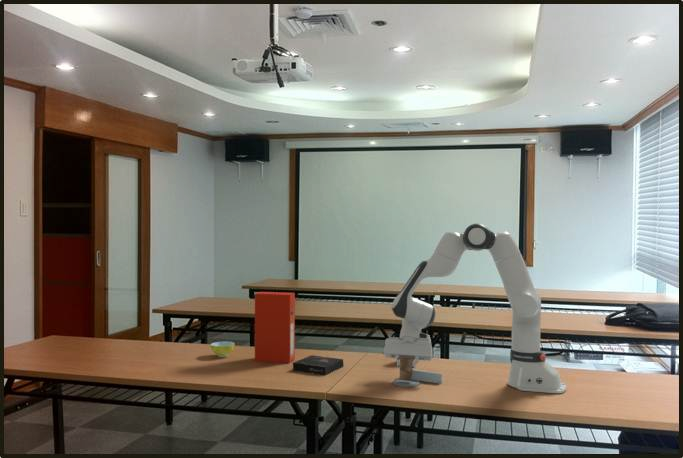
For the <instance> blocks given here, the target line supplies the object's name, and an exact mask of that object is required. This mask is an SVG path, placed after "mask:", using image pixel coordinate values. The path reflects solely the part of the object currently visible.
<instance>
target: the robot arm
mask: <svg viewBox="0 0 683 458" xmlns="http://www.w3.org/2000/svg"><path fill="white" fill-rule="evenodd" d="M483 250H487V251H488V252H489V253H490V255H491V256H492V259H493V261H494V264H495V266H496V269H497V271H498V274H499V277H500V279H501V281H502V284H503V287H504V291H505V293H506V294H505V295H506V296H507V300H508V302H509V306H510V307H511V311H512V319H511V320H512V321H511V348H510V352H509V358H510V359H509V362H510V370H509V375H508V379H507V381H506V383H507V385H508V386H510V387H513V388H514V389H517V390H518V391H524V392H535V393H536V392H537V393H545V394H546V393H548V394H562V393H565V392H566V390H567V385H566V384H565V383H564V382H561V381H562V380H561V376H560V373H559V371H558V370H557V369H556V368H554V367H553V366H552V364H550V363H548V362H547V361H546V358H547V356H546V352H543V351H542V350H541V326H542V325H541V324H542V323H541V320H542V317H541V316H542V315H541V314H542V298H541V295H540V294H539V292H538V291H537V290H536V289H535V287H534V284H533V281H532V278H531V275H530V273H529V269H528V267H527V265H526V262H525V260H524V257H523V255H522V253H521V250H520V249H519V247H518V245H517V243H516V241H515V240H514V238H513V236H512V235H511V233H509V232H507V231H499V232H494V231H492V230H491V229H489V228H488V227H487V226H485V225H484V224H483V223H472V224H470V225H468V226H467V227H466V228H465V229H464V231H463V232H462V233H461V232H460V233H459V232H457V231H453V230H452V231H451V230H450V231H447V232H445V233H444V234H443V236H442V237H441V238H440V241H439V242H438V244H437V245H436V247H435V249H434V251H433V253H432V255H431V256H430V257H429V258H428V259H427V260H422V261H421V262H420V263H419V264H418V265H417V266H416V268H415V270H414V271H413V273H412V274H411V276H410V277H409V278H408V280H407V281H406V283H405V284H404V286H403V287H402V289H401V290H400V291H399V293H398V294H397V295H396V296H395V298H394V299H393V301H392V303H391V310H392V312H393V314H394V315H395V317H397V318H400V319H402V320H401V329H400V331H399V332H400V333H399V337H394V336H393V337H392V336H389V337H387V338H386V339H385V341H384V348H383V355H384V357H385V358H389V359H390V358H391V359H395V362H396V367H397V368H400V359H399V358H413V359H414V361H413V362H412V365H411V368H412V369H416V366H417V364H418V363H419V362H420V361H429V362H431V360H432V359H433V346H432V340H431V337H430V334H427V333H424V332H422V329H426V328H428V327H430V326H432V324H433V323H434V321H435V319H436V310H435V307H434V305H432V304H430V303H428V302H426V301H422V300H421V299H418V298H415V297H414V296H412V295H413V294H414V292H415V291H416V289H417V288H418V286H419V284H420V283H421V282H422V281H423V280H424V279H426V278H446V277H448V276H451V275H452V274H453V273H454V272H455V271H456V269H457V267H458V265H459V262H460V261H461V258H462V256H463V254H464V253H465V251H475V252H479V251H483Z"/></svg>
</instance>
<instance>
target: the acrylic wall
mask: <svg viewBox="0 0 683 458" xmlns="http://www.w3.org/2000/svg"><path fill="white" fill-rule="evenodd" d="M398 379H400V376H399V377H398ZM412 380H416V381H418V382H425V383H426V382H427V383H432V384H433V383H434V384H438V385H442V383H443V373H442V372H433V371H426V370H418V369H412Z"/></svg>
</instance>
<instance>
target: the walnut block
mask: <svg viewBox="0 0 683 458" xmlns="http://www.w3.org/2000/svg"><path fill="white" fill-rule="evenodd" d="M412 360H413V358H401V359H399V361H400V367H399V377H400V379H402V380H411V379H412V370H413V368H411V365H412Z"/></svg>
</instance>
